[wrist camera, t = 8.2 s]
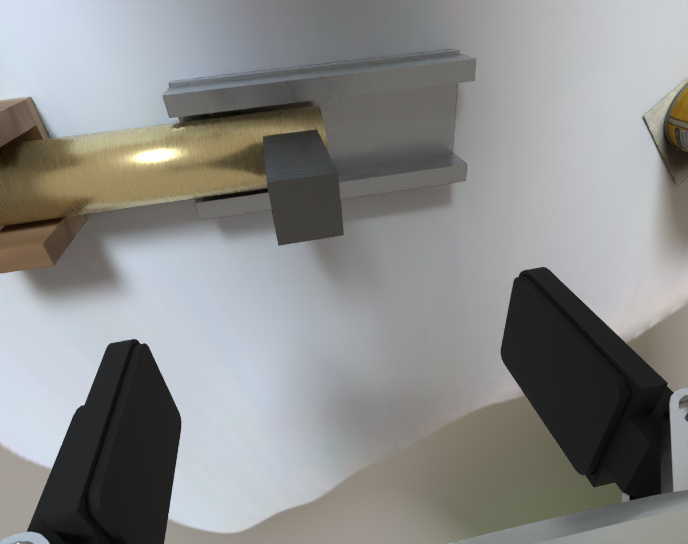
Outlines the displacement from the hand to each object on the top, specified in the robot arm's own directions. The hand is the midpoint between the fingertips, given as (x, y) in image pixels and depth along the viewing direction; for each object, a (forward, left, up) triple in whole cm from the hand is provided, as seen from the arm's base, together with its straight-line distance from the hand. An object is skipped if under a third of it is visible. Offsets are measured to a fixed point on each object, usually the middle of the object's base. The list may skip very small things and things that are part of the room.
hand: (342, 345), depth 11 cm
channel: (0, +3, -21) cm, 21 cm away
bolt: (0, -8, -21) cm, 23 cm away
